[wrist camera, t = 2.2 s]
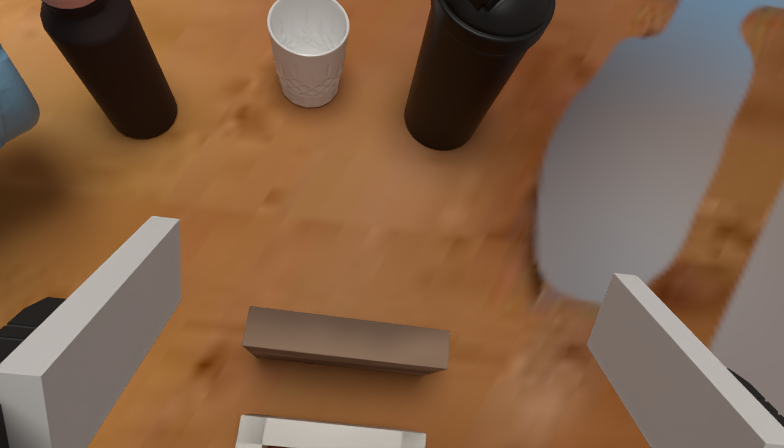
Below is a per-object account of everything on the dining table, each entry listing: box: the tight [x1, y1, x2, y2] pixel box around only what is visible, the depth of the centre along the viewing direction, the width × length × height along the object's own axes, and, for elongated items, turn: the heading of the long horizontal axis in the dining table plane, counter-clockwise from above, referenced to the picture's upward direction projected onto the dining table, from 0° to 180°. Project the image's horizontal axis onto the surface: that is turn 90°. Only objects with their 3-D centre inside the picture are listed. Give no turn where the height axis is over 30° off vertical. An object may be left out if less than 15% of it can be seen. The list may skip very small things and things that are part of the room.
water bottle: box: [404, 0, 555, 150], centre depth 49 cm, size 10×10×23 cm
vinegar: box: [40, 0, 177, 138], centre depth 45 cm, size 7×7×20 cm
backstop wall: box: [242, 306, 450, 376], centre depth 44 cm, size 3×16×10 cm, turn 85°
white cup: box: [267, 0, 349, 108], centre depth 54 cm, size 8×8×10 cm
